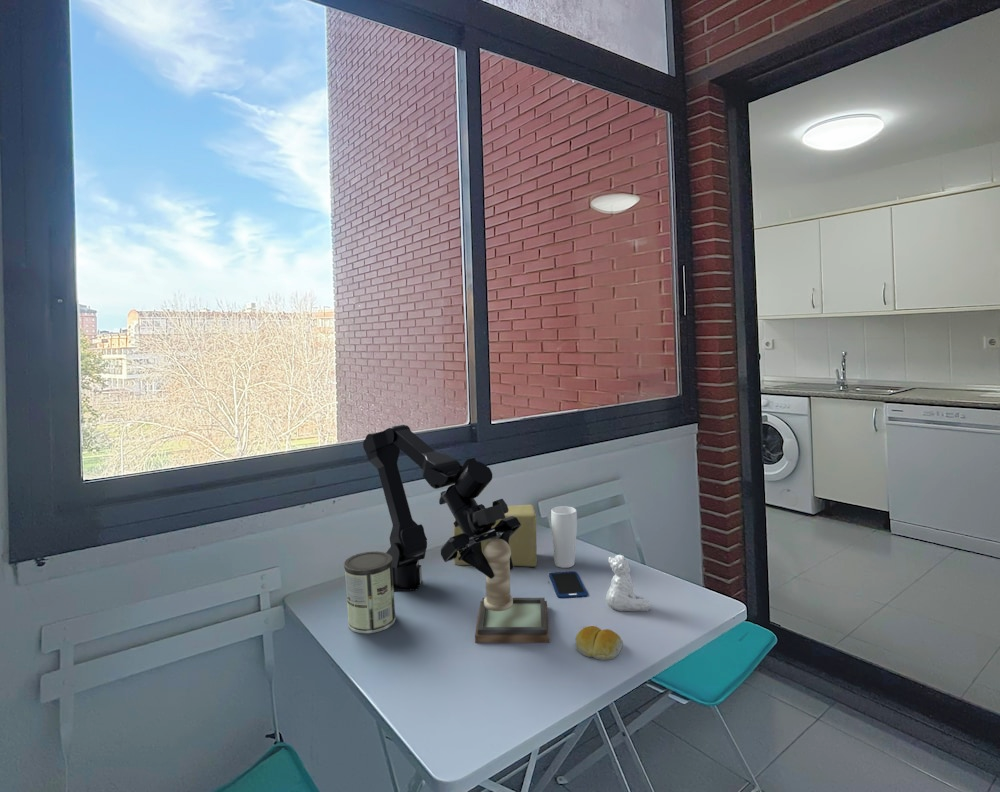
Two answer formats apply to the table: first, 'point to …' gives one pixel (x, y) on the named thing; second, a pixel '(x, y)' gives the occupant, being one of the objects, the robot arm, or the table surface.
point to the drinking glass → (564, 535)
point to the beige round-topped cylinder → (498, 576)
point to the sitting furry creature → (623, 588)
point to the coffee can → (370, 592)
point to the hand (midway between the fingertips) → (502, 573)
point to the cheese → (516, 537)
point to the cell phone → (567, 584)
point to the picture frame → (514, 623)
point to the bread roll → (598, 643)
